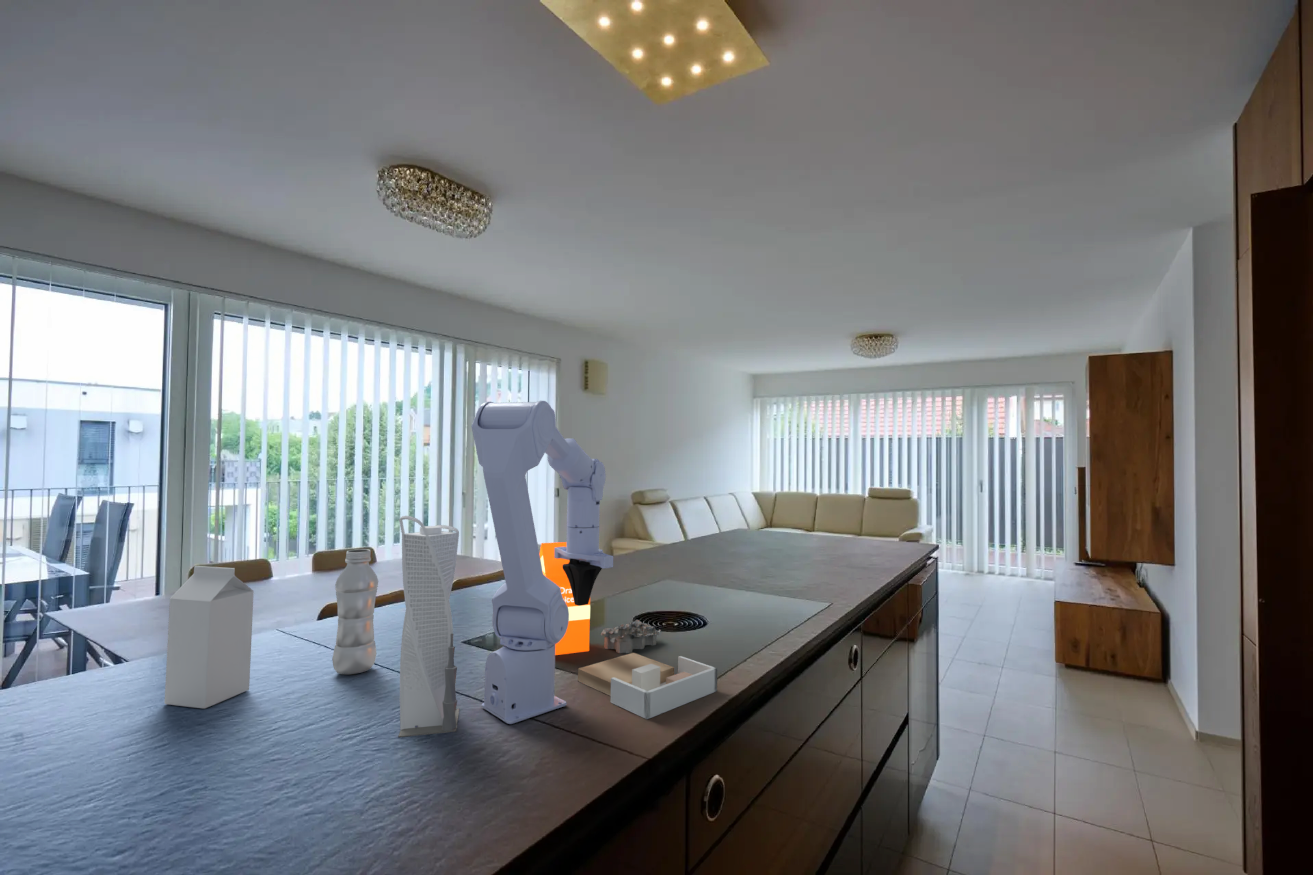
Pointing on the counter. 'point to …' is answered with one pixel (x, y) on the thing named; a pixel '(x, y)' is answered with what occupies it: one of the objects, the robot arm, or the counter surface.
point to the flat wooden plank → (618, 671)
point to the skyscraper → (428, 632)
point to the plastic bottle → (355, 614)
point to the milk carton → (209, 639)
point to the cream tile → (646, 677)
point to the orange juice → (578, 615)
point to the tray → (666, 690)
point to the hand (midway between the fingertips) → (581, 604)
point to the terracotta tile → (677, 677)
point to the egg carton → (629, 637)
